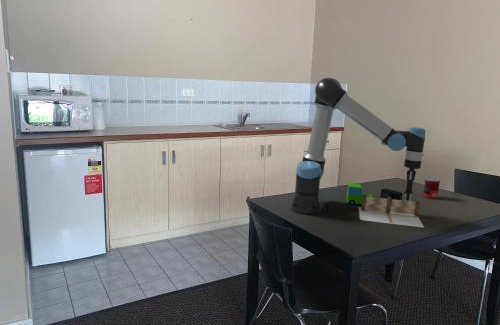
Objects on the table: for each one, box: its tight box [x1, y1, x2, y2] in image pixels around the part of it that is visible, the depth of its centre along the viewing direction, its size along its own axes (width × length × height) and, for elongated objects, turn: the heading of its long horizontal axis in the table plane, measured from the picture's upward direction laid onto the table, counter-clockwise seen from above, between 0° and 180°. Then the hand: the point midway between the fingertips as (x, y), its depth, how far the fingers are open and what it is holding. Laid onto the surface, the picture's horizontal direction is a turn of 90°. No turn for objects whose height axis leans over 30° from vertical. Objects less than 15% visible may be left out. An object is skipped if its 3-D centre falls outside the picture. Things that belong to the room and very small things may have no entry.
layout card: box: [358, 206, 425, 228], centre depth 188 cm, size 28×19×1 cm
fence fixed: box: [360, 193, 392, 213], centre depth 194 cm, size 14×2×8 cm, turn 77°
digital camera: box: [379, 187, 404, 203], centre depth 211 cm, size 10×5×7 cm, turn 40°
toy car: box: [346, 182, 374, 205], centre depth 207 cm, size 10×13×10 cm
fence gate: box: [390, 199, 421, 217], centre depth 192 cm, size 13×2×7 cm, turn 77°
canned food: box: [422, 176, 441, 200], centre depth 226 cm, size 8×8×11 cm
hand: (406, 205), depth 194 cm, fingers closed
